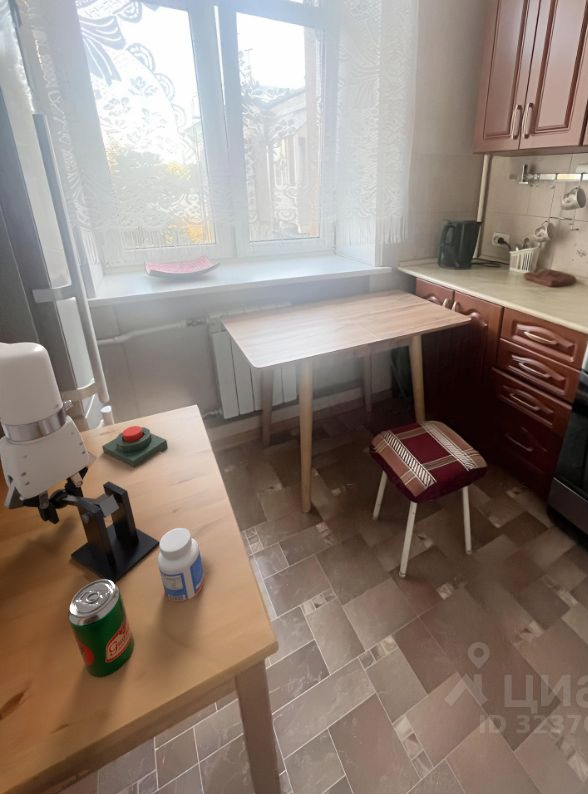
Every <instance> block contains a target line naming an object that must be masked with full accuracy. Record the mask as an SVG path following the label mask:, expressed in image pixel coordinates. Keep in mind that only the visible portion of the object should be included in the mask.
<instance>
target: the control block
mask: <svg viewBox="0 0 588 794" xmlns="http://www.w3.org/2000/svg"><path fill="white" fill-rule="evenodd" d="M140 427H141V426H140ZM141 428H142V433H143V437H142V438H140V439H139V440H137V441H133V442H125V441H124V438H123V431H122V432H120V433H118V435H117V436H116V437H115V438H114V439H112V440H111V441H108V442H107V443H105V444H103V445H102V446H101V448H102V453H104V454H106V455H108V456H110V457H112V458H114V459H116V460H118V461H120V462H122V463H124V464H126V465H128V466H131V467H132V468H136V467H138V466H139V465H140V464H142V463H144V462H145V461H147V460H148V459H150V458H152V457H153V456H155V455H156V454H158V453H159V452H162V453H163V452H164V451H166V450H167V449H169V448H168V440H167V439H165V438H163V437H161V436H158V435H156V434H154V433H152V432H151V430H150V429H149V428H147V427H145V426H142V427H141Z"/></svg>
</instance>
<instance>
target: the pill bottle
mask: <svg viewBox="0 0 588 794" xmlns="http://www.w3.org/2000/svg"><path fill="white" fill-rule="evenodd" d="M159 543H160V544H159V553H158V556H157V566H158V570H159V574H160V578H161V582H162V587H163V590H164V594H165V596H166V598H167V599H168V600H169V601H171V602H173V603H183V602H187V601H188V600H191V599H192V598H193V597H195V596H196V595H198V593H200V591H201V589H202V588H203V586H204V583H205V573H204V568H203V561H202V557H201V550H200V546H199V544H198V542H197V540H196V539H194V538H193V537H192V535H191V531H189V529H188V528H185V527H176V528H172V529H170V530H169V531H167V532H166V533H164V534H163V535H162V537H161V538H160V540H159Z"/></svg>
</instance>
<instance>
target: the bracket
mask: <svg viewBox="0 0 588 794" xmlns="http://www.w3.org/2000/svg"><path fill="white" fill-rule="evenodd" d="M102 487H103V492H104V494H110V495H113V496H114V498H115V500H116V502H117V504H118V506H119V509H117V510H116V511H114V512H113V513H112V514H110V517H111V521H112V523H111V524H109V525H108V526H107V525H106V522H105V518H103V514H102V510H101V509H100V508H99V507H97V506H95V505H94V504H92V503H90V502H88V501H87V500H85V499H83V498H82V499H80V500H79V501H77V502H76V505H77V507H76V508H77V512H78V514H79V518H80V520H81V524H82V527H83V530H84V534H85V537H86V541H87V542H85V543H84V544H83V545H81V546H80V547H79V548H78V549H76V550H75V551H73V552H72V553H71V554H70V557H71V559H73V560H74V561H76V562H77V563H78V564H80V565H81V566H82V567H84V568H86V569H87V570H89V571H90V572H91V573H93V574H94V575H96V576H97V577H99V578H100V579H106V580H110V581H111V582H112V583H114V584H117V583H118V582H119V581H120V580H122V579H123V577H125V576H126V575H127V574H128V573H129V572H130V571H131V570H133V569H134V568H135V567H136V566H137V565H139V564H140V563H141V562H142V561H143V560H144V559H145V558H147V557H148V555H149V554H151V552H153V551H154V550H155V549H156V548H158V546H159V544H160V540H158V539H157V538H154V537H152V536H150V535H149V534H148V533H146V532H144V531H142V530H140V529H139V528H137V526H136V522H135V518H134V514H133V510H132V509H133V508H132V505H131V500H130V497H129V496H130V495H129V493H128V490H127V489H125V488H123V487H121V486H120V485H117V484H115V483H113V482H112V481H110V480H108V481H107V482H105V483H103V484H102ZM159 547H160V546H159Z"/></svg>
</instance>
